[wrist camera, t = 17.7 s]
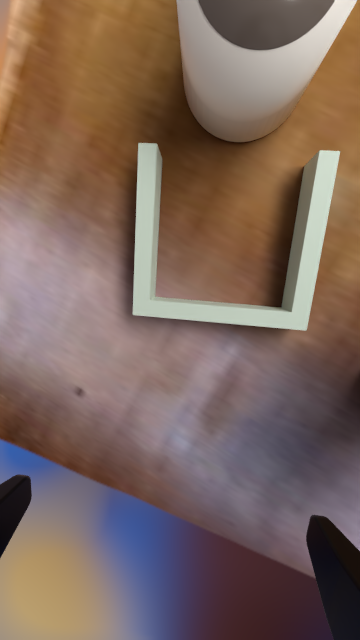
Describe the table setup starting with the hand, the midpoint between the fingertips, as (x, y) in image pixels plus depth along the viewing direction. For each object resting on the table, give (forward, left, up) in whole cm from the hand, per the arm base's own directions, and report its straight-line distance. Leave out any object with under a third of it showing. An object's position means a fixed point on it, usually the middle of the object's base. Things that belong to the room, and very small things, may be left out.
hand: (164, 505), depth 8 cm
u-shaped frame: (-2, -10, -13) cm, 17 cm away
